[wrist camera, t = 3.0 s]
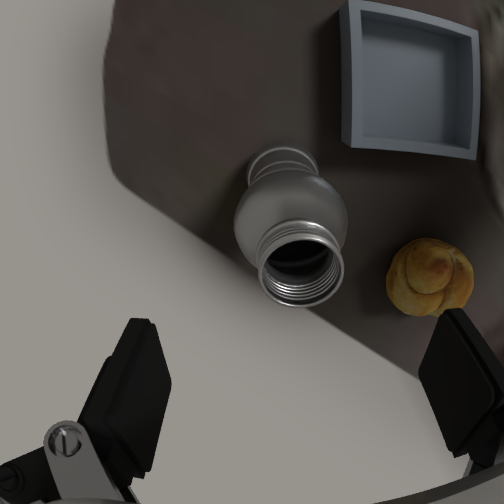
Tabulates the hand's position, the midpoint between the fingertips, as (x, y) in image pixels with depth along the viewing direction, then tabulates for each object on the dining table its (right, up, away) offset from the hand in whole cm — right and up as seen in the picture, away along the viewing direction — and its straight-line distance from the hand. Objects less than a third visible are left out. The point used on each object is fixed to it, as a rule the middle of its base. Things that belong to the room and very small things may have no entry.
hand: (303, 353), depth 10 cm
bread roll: (+20, +1, +26) cm, 33 cm away
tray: (+14, +20, +16) cm, 30 cm away
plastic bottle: (+1, +12, +22) cm, 25 cm away
